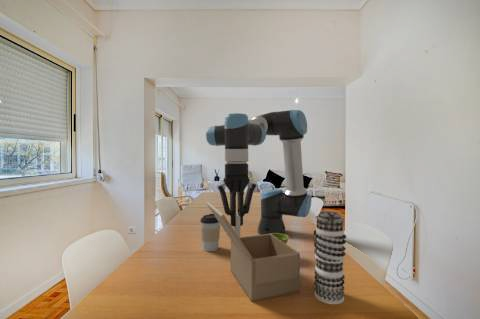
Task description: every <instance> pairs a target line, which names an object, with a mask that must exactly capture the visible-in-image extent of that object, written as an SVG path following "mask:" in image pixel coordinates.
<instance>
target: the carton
mask: <svg viewBox="0 0 480 319" xmlns="http://www.w3.org/2000/svg"><path fill="white" fill-rule="evenodd" d="M239 238H240V240H241V241H242V243H243V244H244V246H245V247H246V249H247V250H248V252H249V253H250V255H251V256H252V259H249V258H248V257H247V256H246V255H245V254H244V253H243V252H242V251H241V250H240V249H239V247H238V246H237V245H236V244H235V243H234V242H233V241H232V240H231V239H230V272H231V274H232V275H233V277H234V279H235V280H236V281H237V283H238V284H239V286H240V287H241V289H242V290H243V292H244V293H245V294H246V296H247V297H248V299H249V300H250V302H257V301H261V300H262V301H263V300H265V299H271V298H276V297H282V296H285V295H290V294H291V295H292V294H296V293H300V290H301V289H300V284H301V283H300V282H301V279H300V276H301V274H300V271H301V263H300V262H301V253H300V252H299V251H297V250H295V248H293V247H291V246H290V245H289V244H285V243H284V242H282V241H281V240H279V239H278V238H276V237H275V236H273V235H272V234H264V235H262V234H256V235H255V234H254V235H248V236H247V235H245V236H240V237H239Z"/></svg>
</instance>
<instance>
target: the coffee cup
mask: <svg viewBox="0 0 480 319" xmlns="http://www.w3.org/2000/svg"><path fill="white" fill-rule="evenodd" d="M200 232H201V242H202V243H201V244H202V250H203V251H204V252H215V251H218V250H219V243H220V242H219V241H220V232H221V225H220V223H219V222H218V220H217V219H216V217H215V216H214V214H213V213H209V214H205V215H202V217H201V218H200Z"/></svg>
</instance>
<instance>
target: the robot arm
mask: <svg viewBox="0 0 480 319" xmlns="http://www.w3.org/2000/svg"><path fill="white" fill-rule="evenodd" d="M307 132H308V120H307V118H306V114H304V112H303V111H302V110H300V109H290V110H281V111H271V112H267V113H264V114H260V115H257V116H254V117H253V118H251V119H249V116H248V115H247V114H246V113H237V112H236V113H228V114H226V115H225V117H224V124H223V125H213V126H209V127H208V128H207V130H206V132H205V138H206V141H207V143H208V144H209V145H210V146H216V147H219V146H224V161H225V162H226V163H225V164H224V178H223V181H222V182H221V183H220V184H217V185H216V188H217V190H218V192H219V194H220V198H221V202H222V206H223V210H224V213H225V214H226V216H230V225H231V226H232V228H233V229H234V231H235V232H236V234H237V235H238V237H241V227H242V226H243V225H244V216H245V215H246V214H249V213H250V207H251V205H252V199H253V193H254V191H255V190H256V188H257V184H256V183H253V182H251V181H250V178H249V164H248V162H249V146H259V145H262V144H263V143H264V141H265V140H266V137H267V136H278V138H279V141H281V142H282V148H283V160H284V161H283V162H284V173H285V186H286V188H285V189H284V190H283V189H278V188H277V189H275V188H274V189H267V190H264V191H262V192H261V194H260V219H259V223H258V225H257V233H258V235H264V234H270V233H281V234H285V235H286V232H287V231H286V226H285V222H284V218H283V216H288V217H289V216H291V217H295V218H296V217H297V218H306V217H307V216H308V215H309V213H310V212H311V206H312V195H311V194H310V193H309V194H308V190H307V189H306V187H304V173H303V172H304V171H303V156H302V143H301V142H302V140H303V139H304V137H305V135H306V134H307ZM226 188H227V189H228V191H229V202H228V196H227V193H226ZM246 188H247V189H246ZM245 190H246V194H245ZM244 195H245V196H244Z"/></svg>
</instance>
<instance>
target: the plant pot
mask: <svg viewBox="0 0 480 319" xmlns="http://www.w3.org/2000/svg"><path fill="white" fill-rule="evenodd" d="M270 234H272V235H273V236H275V237H276V238H278V239H279V240H281V241H282V242H284V243H285V244H287V242H288V240H289V238H290V237H289V235H287V234H286V233H285V234H281V233H270ZM287 245H288V244H287Z"/></svg>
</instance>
